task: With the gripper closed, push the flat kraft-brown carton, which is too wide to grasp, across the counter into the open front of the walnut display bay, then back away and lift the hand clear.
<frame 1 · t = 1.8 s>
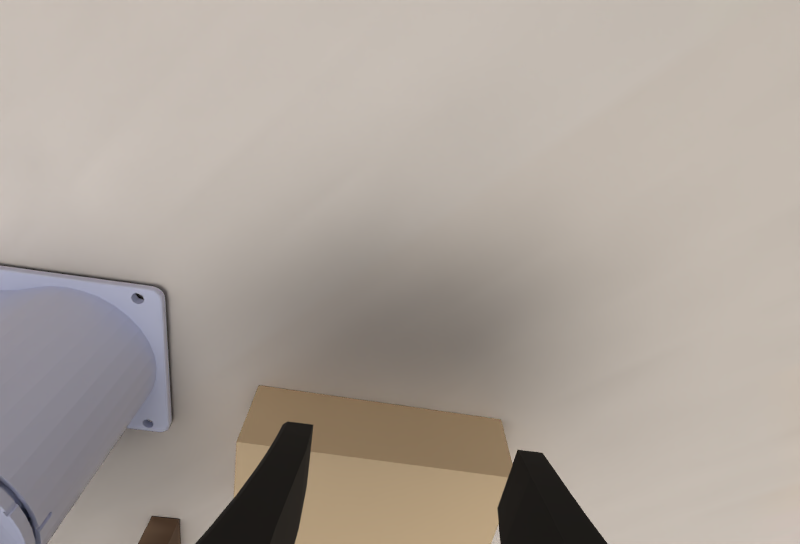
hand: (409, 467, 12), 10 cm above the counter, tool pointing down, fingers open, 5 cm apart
kraft carton: (370, 456, 27), on the counter
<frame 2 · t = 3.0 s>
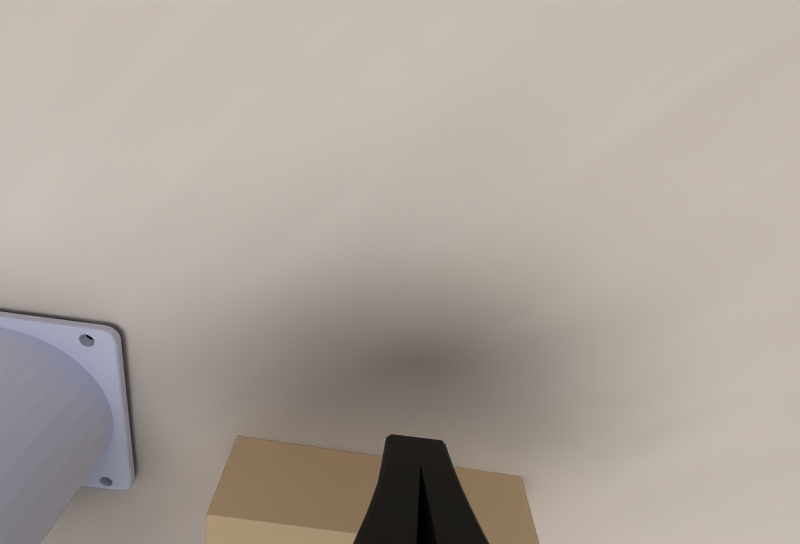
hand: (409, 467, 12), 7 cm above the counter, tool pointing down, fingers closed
kraft carton: (367, 514, 23), on the counter
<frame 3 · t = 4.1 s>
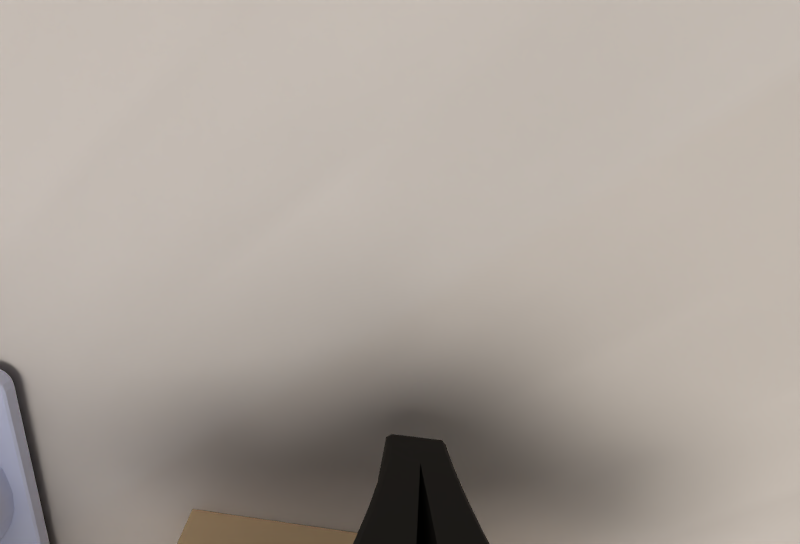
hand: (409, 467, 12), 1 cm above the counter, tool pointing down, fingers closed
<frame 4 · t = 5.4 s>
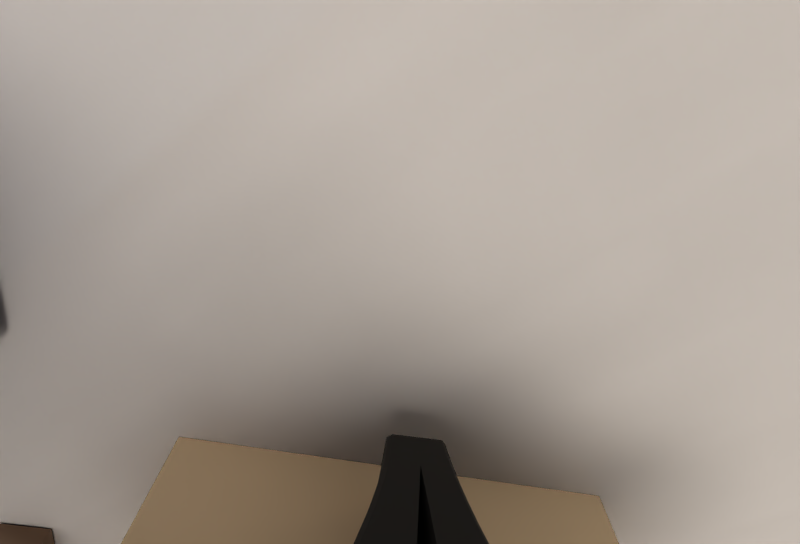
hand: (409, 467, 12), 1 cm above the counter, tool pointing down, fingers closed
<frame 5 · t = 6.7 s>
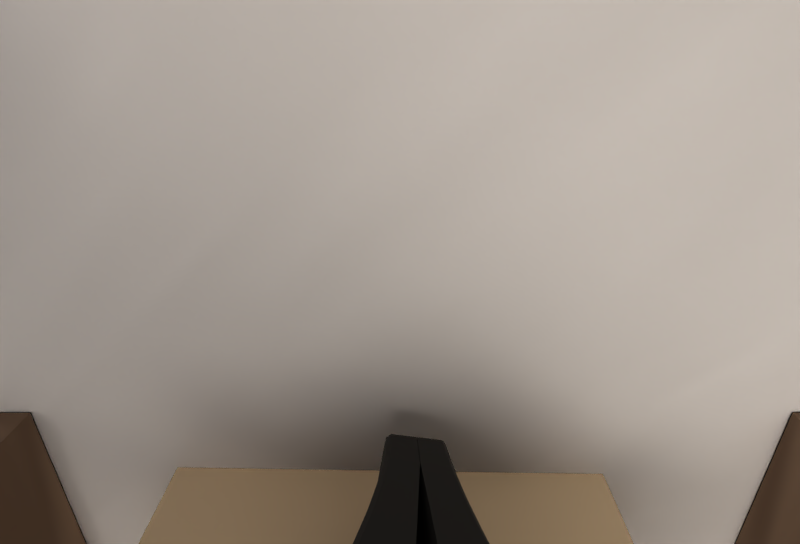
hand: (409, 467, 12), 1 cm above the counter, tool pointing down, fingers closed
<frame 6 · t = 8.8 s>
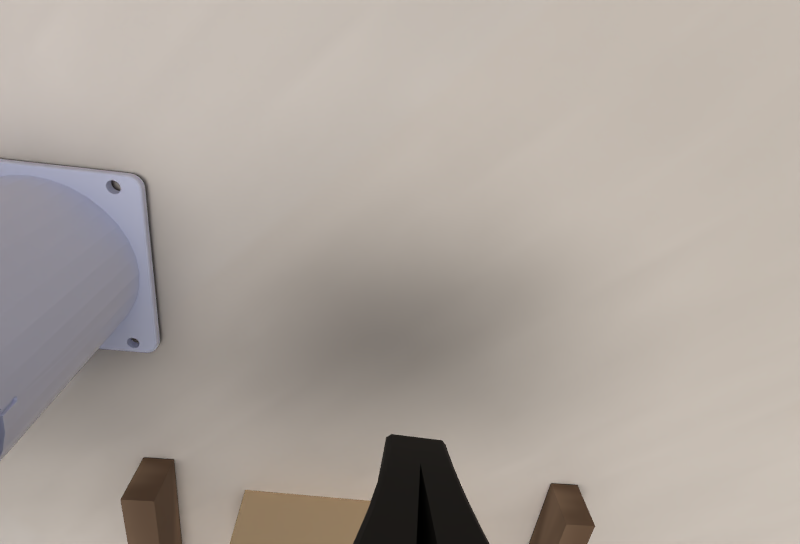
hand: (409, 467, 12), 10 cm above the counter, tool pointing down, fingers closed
kraft carton: (348, 541, 29), on the counter
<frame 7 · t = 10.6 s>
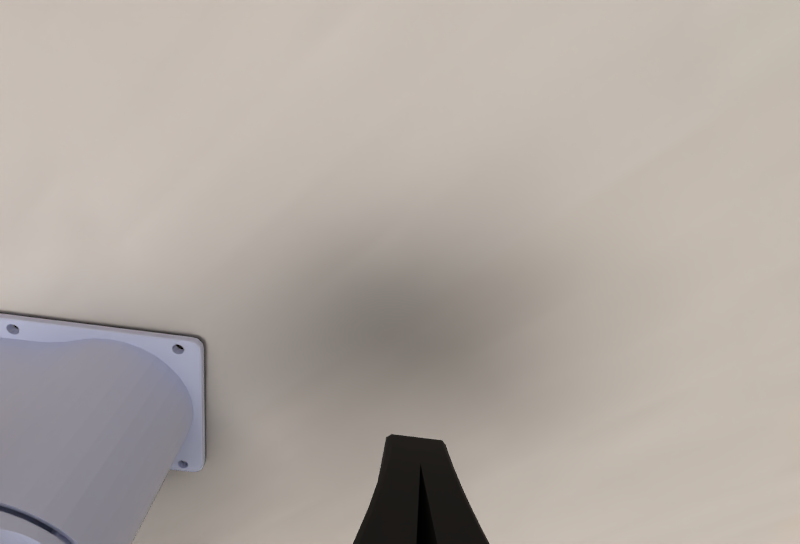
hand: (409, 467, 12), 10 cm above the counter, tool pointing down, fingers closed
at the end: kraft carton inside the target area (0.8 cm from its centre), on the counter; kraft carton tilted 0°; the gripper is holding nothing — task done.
